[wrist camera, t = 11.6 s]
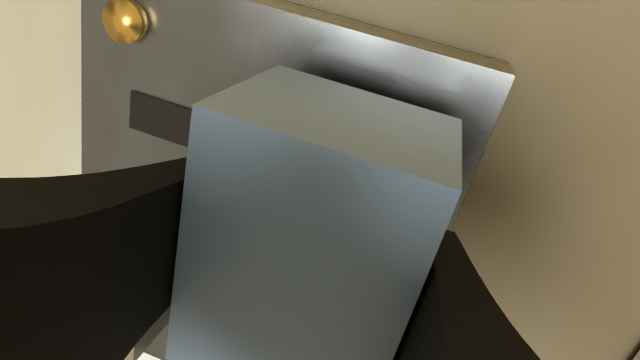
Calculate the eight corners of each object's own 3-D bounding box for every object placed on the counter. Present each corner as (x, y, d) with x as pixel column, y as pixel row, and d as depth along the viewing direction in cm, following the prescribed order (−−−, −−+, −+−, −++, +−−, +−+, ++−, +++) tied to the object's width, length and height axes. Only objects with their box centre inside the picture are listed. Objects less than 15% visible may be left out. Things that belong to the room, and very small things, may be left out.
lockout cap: (461, 119, 10) (462, 190, 7) (387, 314, 13) (359, 440, 9) (279, 65, 11) (192, 104, 7) (242, 260, 14) (165, 358, 10)
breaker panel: (508, 62, 13) (517, 78, 11) (371, 400, 19) (359, 453, 17) (127, -43, 15) (70, -47, 13) (114, 296, 21) (74, 332, 19)
